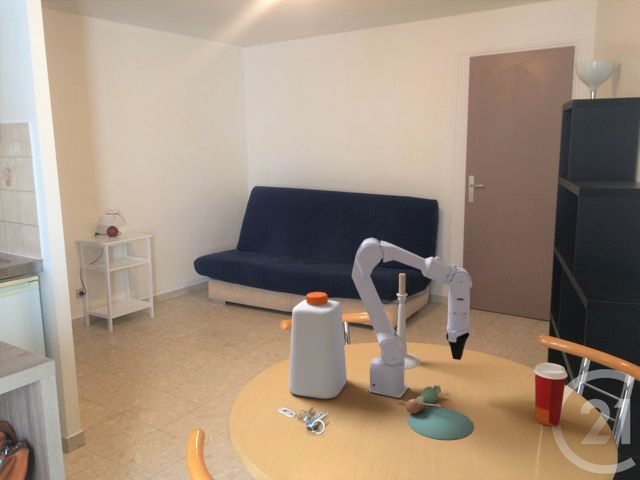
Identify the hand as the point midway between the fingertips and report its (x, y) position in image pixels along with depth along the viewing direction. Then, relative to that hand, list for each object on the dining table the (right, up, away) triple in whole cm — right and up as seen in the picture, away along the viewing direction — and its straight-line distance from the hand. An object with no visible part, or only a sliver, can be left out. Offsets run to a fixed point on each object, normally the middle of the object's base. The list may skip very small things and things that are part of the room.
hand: (457, 358), depth 146 cm
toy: (-5, -9, 0) cm, 10 cm away
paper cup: (+19, -13, -13) cm, 27 cm away
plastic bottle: (-39, -10, +7) cm, 41 cm away
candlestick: (-12, -7, +24) cm, 28 cm away
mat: (-8, -13, -14) cm, 21 cm away
